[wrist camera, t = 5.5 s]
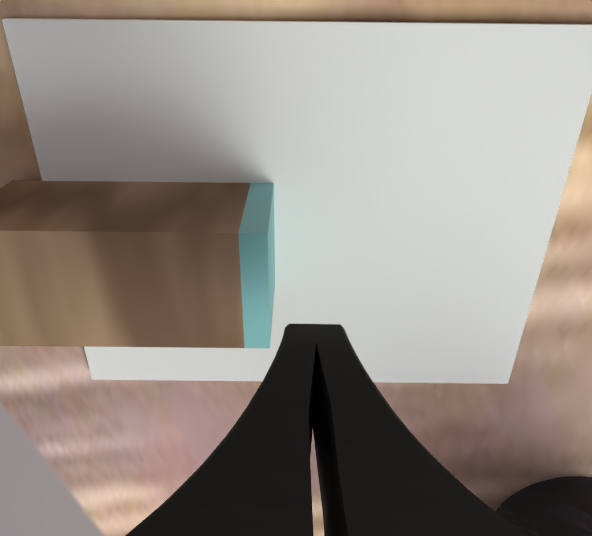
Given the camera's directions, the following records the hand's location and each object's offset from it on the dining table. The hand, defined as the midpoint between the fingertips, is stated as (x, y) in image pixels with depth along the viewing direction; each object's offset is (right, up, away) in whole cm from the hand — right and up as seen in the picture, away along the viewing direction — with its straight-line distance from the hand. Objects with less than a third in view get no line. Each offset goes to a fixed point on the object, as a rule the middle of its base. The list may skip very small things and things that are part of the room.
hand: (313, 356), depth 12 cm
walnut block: (-1, +2, +4) cm, 5 cm away
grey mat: (0, +4, +6) cm, 7 cm away
